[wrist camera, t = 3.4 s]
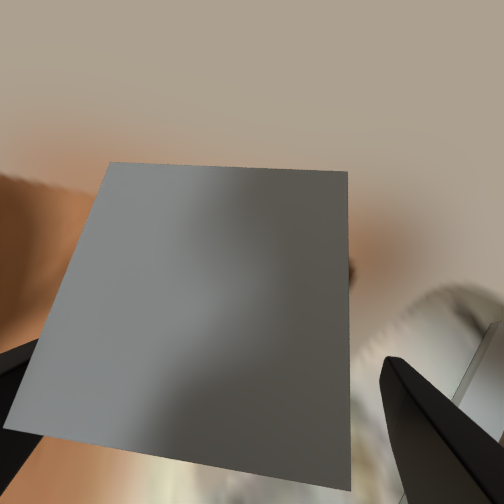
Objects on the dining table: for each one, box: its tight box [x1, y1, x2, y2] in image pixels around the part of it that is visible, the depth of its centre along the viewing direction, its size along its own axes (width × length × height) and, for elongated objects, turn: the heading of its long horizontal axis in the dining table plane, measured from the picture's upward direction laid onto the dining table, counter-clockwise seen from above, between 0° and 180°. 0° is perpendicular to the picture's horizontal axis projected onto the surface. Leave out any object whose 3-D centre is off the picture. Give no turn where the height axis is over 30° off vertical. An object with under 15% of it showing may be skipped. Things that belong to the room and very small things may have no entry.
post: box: [3, 162, 351, 491], centre depth 11 cm, size 5×5×13 cm
